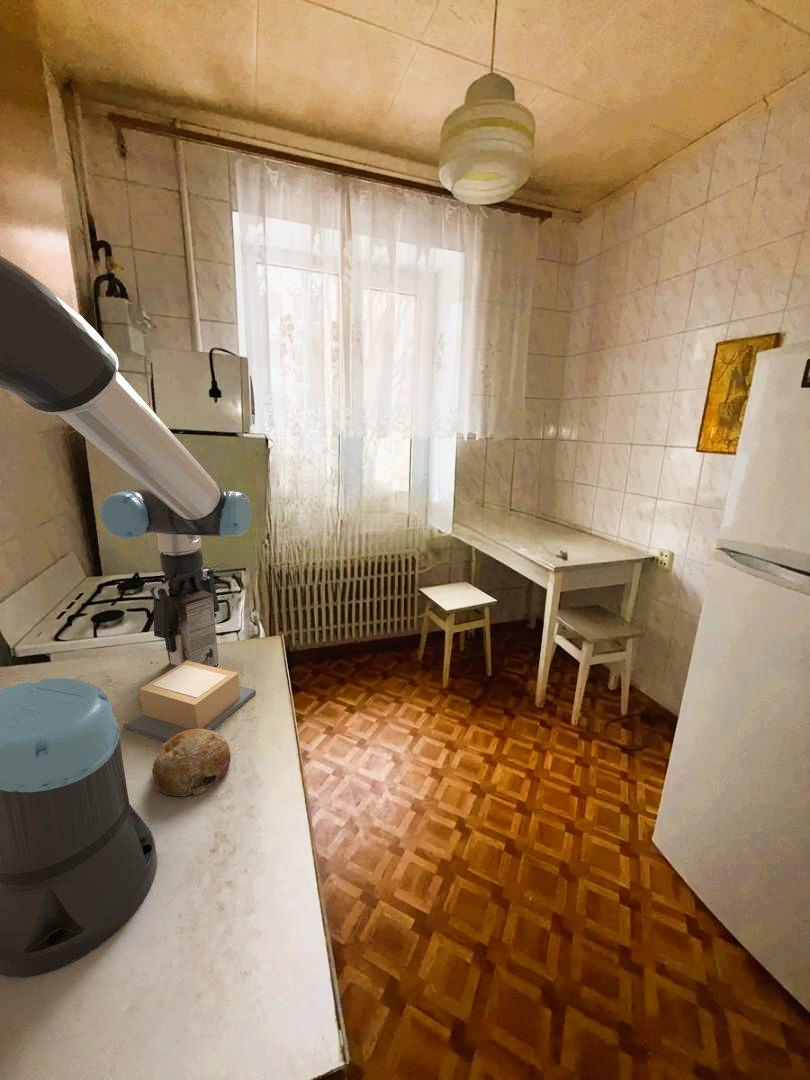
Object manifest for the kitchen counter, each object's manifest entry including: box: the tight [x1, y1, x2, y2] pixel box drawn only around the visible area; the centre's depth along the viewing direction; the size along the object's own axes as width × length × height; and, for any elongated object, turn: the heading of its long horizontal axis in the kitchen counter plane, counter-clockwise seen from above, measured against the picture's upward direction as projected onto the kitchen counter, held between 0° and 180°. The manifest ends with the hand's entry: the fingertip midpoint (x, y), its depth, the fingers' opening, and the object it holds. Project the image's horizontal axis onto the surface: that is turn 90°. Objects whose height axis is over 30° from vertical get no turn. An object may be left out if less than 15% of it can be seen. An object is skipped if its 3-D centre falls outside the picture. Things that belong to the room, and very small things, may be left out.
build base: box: [122, 661, 257, 743], centre depth 77 cm, size 16×14×6 cm
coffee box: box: [167, 590, 220, 668], centre depth 91 cm, size 9×6×16 cm
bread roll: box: [151, 729, 232, 797], centre depth 64 cm, size 10×10×8 cm
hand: (192, 654), depth 92 cm, fingers closed on coffee box, 7 cm apart
